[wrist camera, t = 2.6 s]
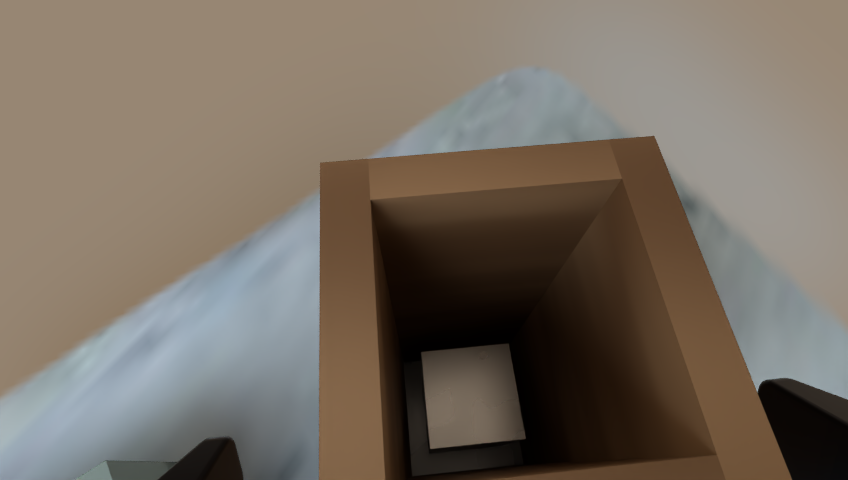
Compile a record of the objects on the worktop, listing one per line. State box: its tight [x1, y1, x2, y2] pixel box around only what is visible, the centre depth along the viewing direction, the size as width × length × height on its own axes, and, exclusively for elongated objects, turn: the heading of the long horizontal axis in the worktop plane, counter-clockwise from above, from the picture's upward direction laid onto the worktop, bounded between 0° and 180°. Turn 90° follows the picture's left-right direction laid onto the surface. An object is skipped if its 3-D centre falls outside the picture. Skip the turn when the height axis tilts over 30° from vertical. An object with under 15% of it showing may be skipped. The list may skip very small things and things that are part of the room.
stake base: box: [404, 344, 526, 476], centre depth 14 cm, size 8×8×5 cm
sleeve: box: [319, 136, 792, 480], centre depth 11 cm, size 5×5×11 cm
